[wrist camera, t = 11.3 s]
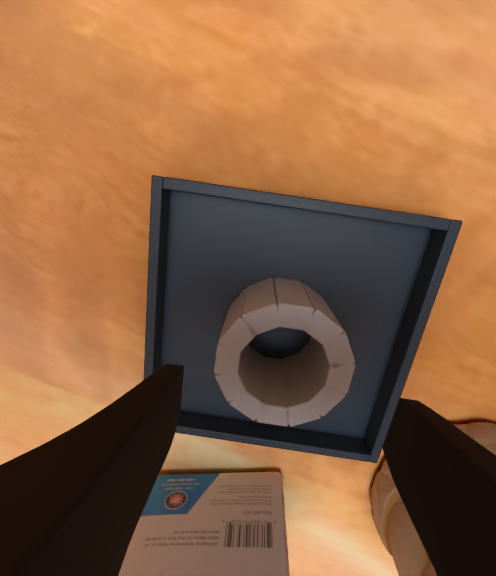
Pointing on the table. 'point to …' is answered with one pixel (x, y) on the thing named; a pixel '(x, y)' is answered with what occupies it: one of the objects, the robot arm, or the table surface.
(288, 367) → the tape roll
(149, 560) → the ink box
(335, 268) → the tray
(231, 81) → the table surface
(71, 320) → the table surface
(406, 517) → the statue
